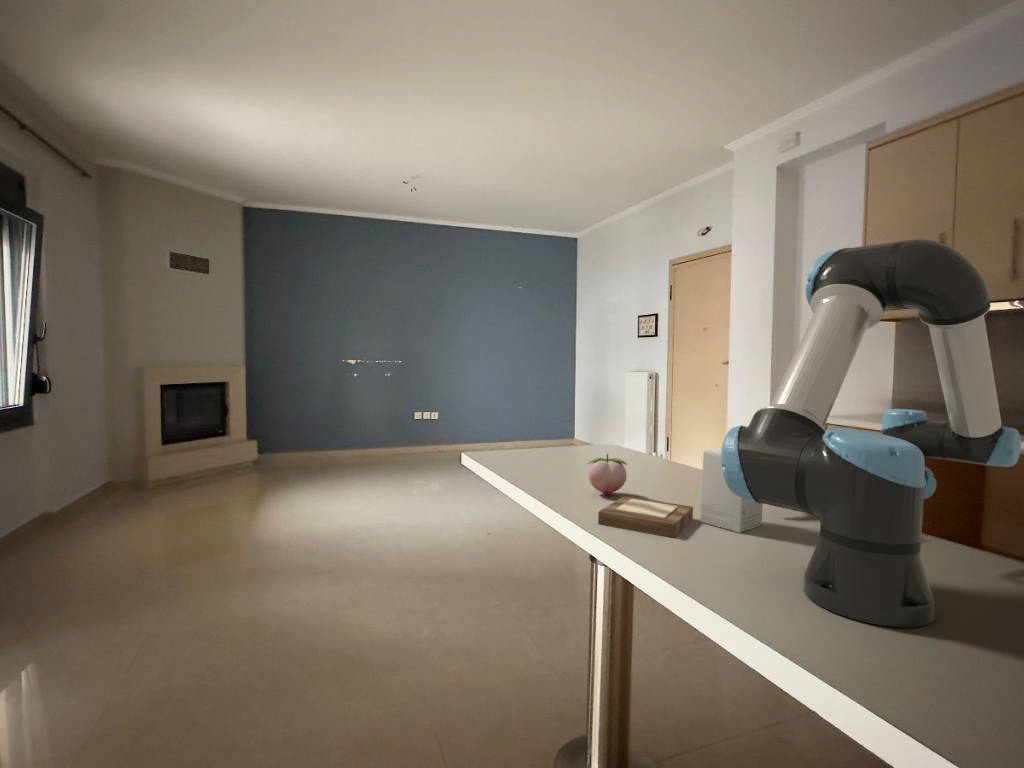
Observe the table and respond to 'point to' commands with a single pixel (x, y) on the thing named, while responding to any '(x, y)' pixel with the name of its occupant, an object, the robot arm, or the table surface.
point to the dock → (646, 516)
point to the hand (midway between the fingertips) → (767, 484)
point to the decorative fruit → (607, 474)
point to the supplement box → (724, 499)
